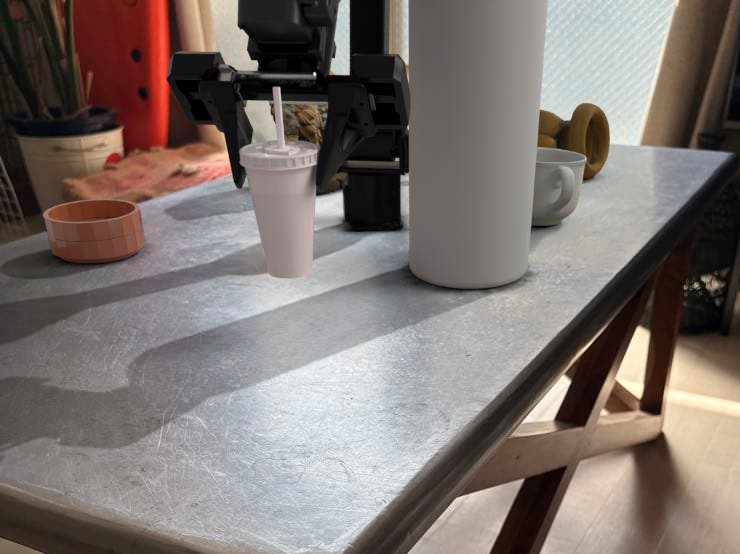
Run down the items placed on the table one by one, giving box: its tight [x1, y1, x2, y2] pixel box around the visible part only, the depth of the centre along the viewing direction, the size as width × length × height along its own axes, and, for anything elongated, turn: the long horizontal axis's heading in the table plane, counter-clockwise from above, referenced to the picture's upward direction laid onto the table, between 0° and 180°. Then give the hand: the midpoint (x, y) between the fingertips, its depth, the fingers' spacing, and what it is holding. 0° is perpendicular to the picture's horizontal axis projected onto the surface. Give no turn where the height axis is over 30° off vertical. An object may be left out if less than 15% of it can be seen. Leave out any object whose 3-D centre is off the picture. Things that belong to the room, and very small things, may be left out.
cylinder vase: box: [408, 0, 549, 290], centre depth 86 cm, size 12×12×25 cm
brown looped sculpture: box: [537, 102, 611, 180], centre depth 127 cm, size 18×13×22 cm
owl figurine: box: [268, 69, 347, 195], centre depth 121 cm, size 18×12×17 cm, turn 165°
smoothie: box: [239, 87, 320, 279], centre depth 70 cm, size 6×6×14 cm
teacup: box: [531, 147, 587, 227], centre depth 106 cm, size 14×11×8 cm
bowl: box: [42, 198, 147, 264], centre depth 98 cm, size 10×10×4 cm
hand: (277, 187), depth 69 cm, fingers closed on smoothie, 6 cm apart
